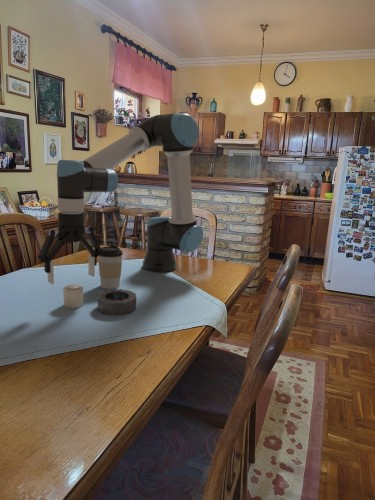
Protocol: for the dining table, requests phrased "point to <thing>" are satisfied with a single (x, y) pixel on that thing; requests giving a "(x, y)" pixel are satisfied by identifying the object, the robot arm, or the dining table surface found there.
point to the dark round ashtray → (116, 302)
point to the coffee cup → (110, 267)
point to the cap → (73, 296)
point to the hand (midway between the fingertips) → (72, 278)
